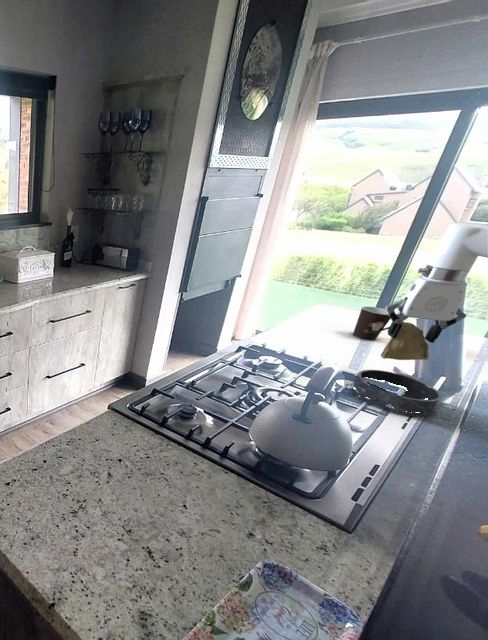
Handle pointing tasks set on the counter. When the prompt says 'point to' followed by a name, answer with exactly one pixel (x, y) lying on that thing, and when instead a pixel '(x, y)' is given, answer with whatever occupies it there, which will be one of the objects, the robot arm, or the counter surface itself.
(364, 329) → the coffee mug
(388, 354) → the rock
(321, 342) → the counter surface
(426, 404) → the dark grey ring
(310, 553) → the counter surface
